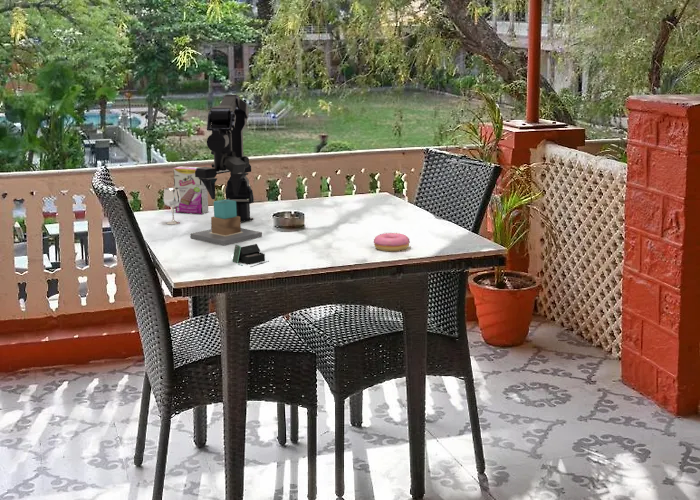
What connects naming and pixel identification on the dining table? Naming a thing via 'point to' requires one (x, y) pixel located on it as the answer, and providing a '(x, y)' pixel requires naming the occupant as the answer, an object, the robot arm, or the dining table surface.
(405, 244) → the doughnut
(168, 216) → the dining table surface
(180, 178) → the candy bar box
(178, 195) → the wineglass
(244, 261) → the dark stepped block
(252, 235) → the base plate
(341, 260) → the dining table surface
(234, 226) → the walnut block
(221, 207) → the teal block
